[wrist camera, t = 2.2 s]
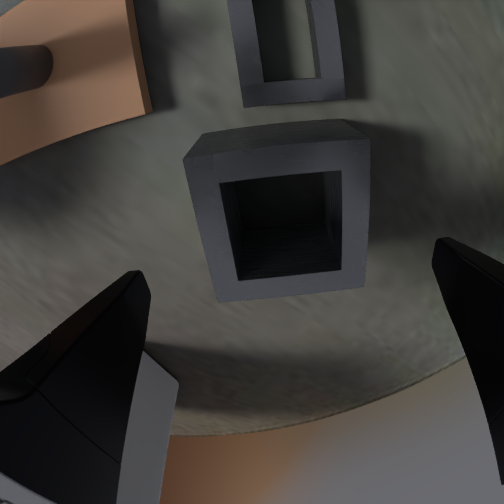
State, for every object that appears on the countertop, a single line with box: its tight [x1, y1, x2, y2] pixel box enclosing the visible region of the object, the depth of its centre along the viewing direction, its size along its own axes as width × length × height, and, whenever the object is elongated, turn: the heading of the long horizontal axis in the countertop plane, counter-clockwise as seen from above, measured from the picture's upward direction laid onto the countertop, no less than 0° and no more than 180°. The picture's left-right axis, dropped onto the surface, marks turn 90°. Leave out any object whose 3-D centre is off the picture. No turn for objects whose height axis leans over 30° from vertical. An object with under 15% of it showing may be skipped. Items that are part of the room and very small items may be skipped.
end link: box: [183, 119, 370, 302], centre depth 13 cm, size 6×6×4 cm
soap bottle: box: [116, 351, 179, 504], centre depth 14 cm, size 10×9×22 cm
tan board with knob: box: [0, 0, 153, 165], centre depth 8 cm, size 10×8×6 cm
